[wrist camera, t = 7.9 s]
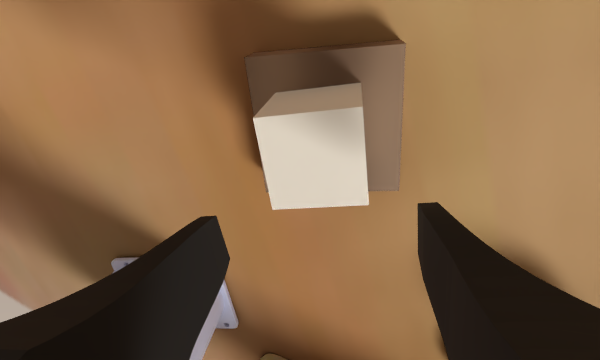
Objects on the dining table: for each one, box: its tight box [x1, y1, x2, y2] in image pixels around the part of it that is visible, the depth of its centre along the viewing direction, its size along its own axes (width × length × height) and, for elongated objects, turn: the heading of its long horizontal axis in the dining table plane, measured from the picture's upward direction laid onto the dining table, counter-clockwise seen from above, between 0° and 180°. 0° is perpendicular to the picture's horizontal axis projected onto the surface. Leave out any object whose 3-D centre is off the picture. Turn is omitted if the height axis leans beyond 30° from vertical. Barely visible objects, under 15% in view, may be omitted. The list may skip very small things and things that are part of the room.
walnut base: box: [244, 40, 406, 192], centre depth 19 cm, size 8×8×2 cm
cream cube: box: [253, 83, 369, 210], centre depth 16 cm, size 4×4×4 cm
